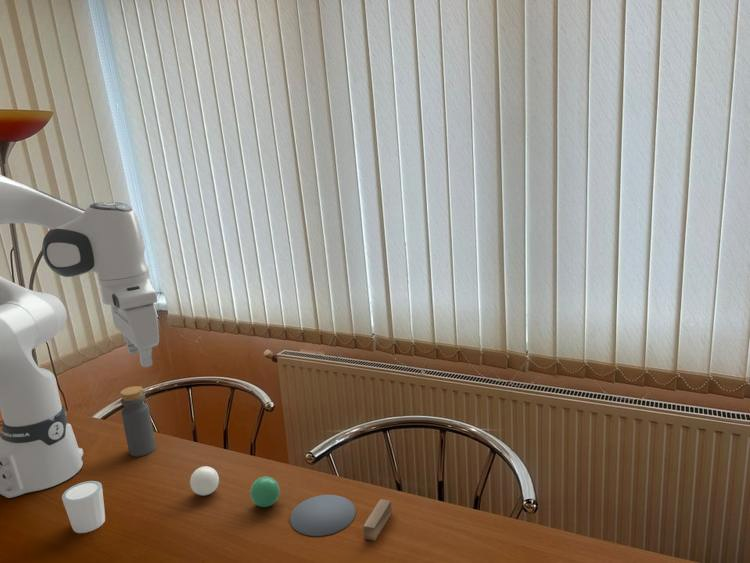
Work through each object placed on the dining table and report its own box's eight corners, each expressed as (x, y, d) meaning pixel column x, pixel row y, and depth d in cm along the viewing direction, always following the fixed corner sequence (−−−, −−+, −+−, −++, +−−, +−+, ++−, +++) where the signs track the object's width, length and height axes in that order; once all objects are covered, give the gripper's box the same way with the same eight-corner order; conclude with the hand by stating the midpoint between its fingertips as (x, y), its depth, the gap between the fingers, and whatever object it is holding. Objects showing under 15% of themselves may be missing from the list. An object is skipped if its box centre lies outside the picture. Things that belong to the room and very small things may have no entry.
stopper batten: (364, 538, 104) (363, 525, 103) (381, 511, 111) (380, 499, 111) (375, 540, 103) (374, 528, 103) (391, 512, 110) (390, 500, 110)
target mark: (277, 529, 108) (277, 528, 108) (309, 491, 119) (309, 490, 119) (338, 541, 104) (338, 540, 104) (365, 501, 115) (365, 500, 114)
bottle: (145, 457, 137) (133, 396, 133) (123, 455, 139) (111, 395, 135) (161, 444, 142) (150, 385, 139) (140, 442, 144) (129, 384, 141)
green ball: (246, 510, 115) (242, 484, 113) (262, 494, 120) (258, 469, 118) (271, 515, 113) (267, 489, 111) (286, 498, 117) (283, 473, 116)
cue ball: (186, 498, 120) (182, 473, 119) (203, 483, 125) (200, 459, 124) (209, 503, 118) (205, 477, 117) (226, 487, 123) (222, 463, 121)
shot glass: (93, 536, 111) (86, 502, 109) (60, 534, 112) (53, 500, 110) (116, 513, 117) (109, 481, 115) (85, 511, 119) (78, 479, 117)
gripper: (97, 284, 120) (111, 350, 123) (121, 302, 103) (136, 378, 106) (130, 278, 123) (143, 342, 126) (159, 294, 106) (172, 368, 110)
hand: (140, 359), depth 116 cm, fingers open, 8 cm apart
